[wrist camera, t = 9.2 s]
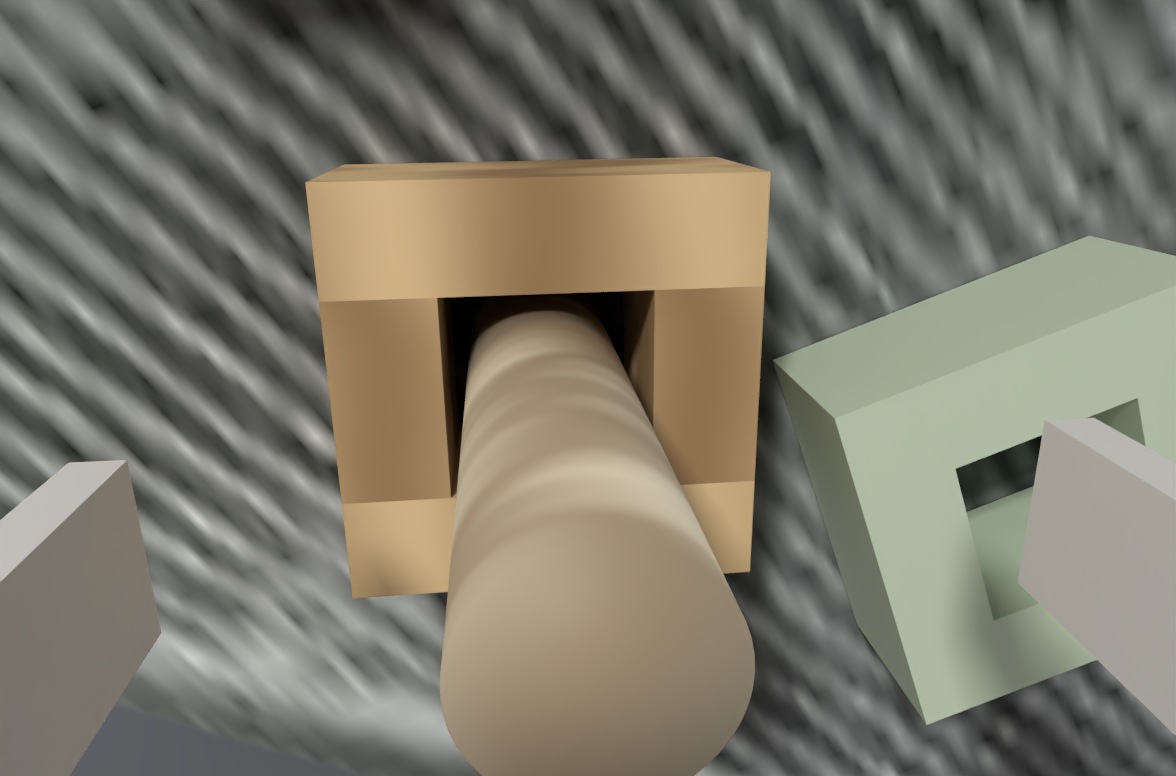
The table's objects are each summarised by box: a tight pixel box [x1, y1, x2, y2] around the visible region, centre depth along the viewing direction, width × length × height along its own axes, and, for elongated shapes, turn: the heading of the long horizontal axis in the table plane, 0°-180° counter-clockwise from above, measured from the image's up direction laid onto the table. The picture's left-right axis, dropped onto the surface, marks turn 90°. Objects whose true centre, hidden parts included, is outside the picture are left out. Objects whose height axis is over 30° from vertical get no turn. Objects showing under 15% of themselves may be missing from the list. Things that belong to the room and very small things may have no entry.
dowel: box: [440, 293, 755, 776], centre depth 16 cm, size 3×3×14 cm
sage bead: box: [773, 236, 1176, 725], centre depth 23 cm, size 9×9×4 cm
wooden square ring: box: [305, 157, 771, 598], centre depth 20 cm, size 9×9×4 cm
